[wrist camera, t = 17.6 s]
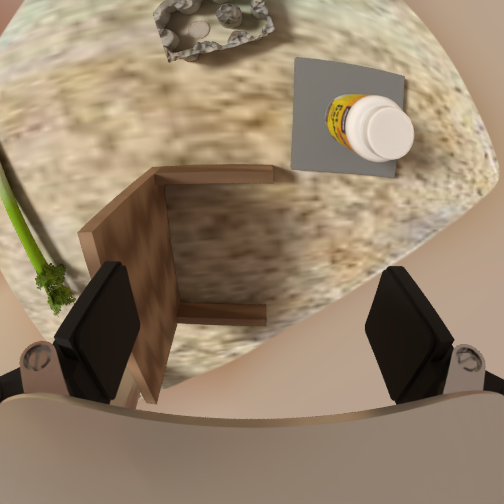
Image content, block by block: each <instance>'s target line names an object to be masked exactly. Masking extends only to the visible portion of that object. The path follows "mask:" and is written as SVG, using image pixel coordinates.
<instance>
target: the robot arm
mask: <svg viewBox="0 0 504 504" xmlns="http://www.w3.org/2000/svg"><path fill="white" fill-rule="evenodd" d="M139 331H140V319H139V315H138V311H137V308H136V304H135V300H134V296H133V292H132V288H131V284H130V280H129V276H128V272H127V268H126V266H125V265H122V263H121V262H120V261H105V262H104V263H103V264H102V266H101V267H100V269H99V270H98V271H97V273H96V274H95V275H94V277H93V278H92V280H91V281H90V282H89V284H88V285H87V287H86V288H85V290H84V291H83V292H82V294H81V295H80V297H79V298H78V300H77V301H76V303H75V304H74V306H73V307H72V309H71V310H70V312H69V313H68V315H67V316H66V318H65V320H64V321H63V323H62V324H61V326H60V328H59V329H58V331H57V332H56V334H55V336H54V338H55V340H54V342H53V344H51V343H50V342H47V341H39V342H35V343H33V344H31V345H29V346H28V347H27V348H26V349H25V350H24V351H23V353H22V355H21V358H20V367H19V368H17V369H15V370H13V371H11V372H9V373H7V374H4V375H2V376H0V504H504V380H503V379H501V378H499V377H498V376H496V375H494V374H491V373H490V372H488V371H486V370H485V360H484V358H483V356H482V354H481V353H480V352H479V351H478V350H477V349H476V348H474V347H472V346H470V345H467V344H460V345H458V346H456V347H455V348H453V346H452V343H453V341H454V338H453V337H452V335H451V334H450V332H449V330H448V329H447V327H446V326H445V324H444V323H443V321H442V320H441V318H440V317H439V315H438V314H437V312H436V311H435V309H434V308H433V306H432V305H431V304H430V302H429V301H428V299H427V298H426V296H425V295H424V294H423V293H422V291H421V290H420V288H419V287H418V285H417V284H416V283H415V281H414V280H413V279H412V277H411V276H410V275H409V273H408V272H407V271H406V269H405V268H404V267H402V266H389V267H387V269H386V270H384V271H383V272H382V275H381V278H380V282H379V285H378V288H377V291H376V294H375V297H374V300H373V303H372V306H371V309H370V312H369V315H368V318H367V321H366V324H365V332H366V335H367V337H368V340H369V342H370V345H371V347H372V350H373V352H374V355H375V357H376V360H377V363H378V365H379V368H380V370H381V373H382V375H383V378H384V381H385V383H386V386H387V389H388V392H389V394H390V397H391V399H392V400H393V401H395V402H396V405H393V406H388V407H383V408H377V409H371V410H365V411H359V412H352V413H344V414H336V415H327V416H315V417H302V418H285V419H223V418H206V417H205V418H204V417H192V416H181V415H172V414H163V413H156V412H149V411H143V410H137V409H136V406H137V402H138V399H139V398H140V397H141V395H140V390H139V388H138V387H137V385H136V383H135V381H134V379H133V377H132V375H131V373H130V371H129V369H128V367H127V363H128V360H129V357H130V355H131V352H132V349H133V346H134V344H135V341H136V338H137V336H138V333H139Z"/></svg>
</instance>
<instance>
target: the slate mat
mask: <svg viewBox="0 0 504 504" xmlns="http://www.w3.org/2000/svg"><path fill="white" fill-rule="evenodd" d="M404 82H405V76H402V75H398V74H394V73H390V72H386V71H382V70H377V69H373V68H368V67H363V66H358V65H352V64H346V63H340V62H334V61H326V60H319V59H310V58H299V57H296V58H295V65H294V102H293V129H292V150H291V169H292V170H309V171H325V172H339V173H351V174H362V175H372V176H381V177H390V178H394V177H395V170H396V164H397V159H394V160H389V161H386V162H372V161H369V160H366V159H364V158H362V157H361V156H359V155H358V154H356V153H355V152H353V151H351V150H350V149H348V148H347V147H345V146H343V145H342V144H340V143H339V142H337V141H336V140H335V139H334V138H333V137H332V136H331V135H330V133H329V132H328V130H327V127H326V124H325V113H326V110H327V107H328V106H329V104H330V103H331V102H332V101H333V100H334V99H335V98H337V97H339V96H341V95H345V94H361V95H378V96H383V97H386V98H389V99H391V100H392V101H394V102H395V103H396V104H397V105H398V106H399V107H400V108H401V109H402V110H403V100H404Z"/></svg>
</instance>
